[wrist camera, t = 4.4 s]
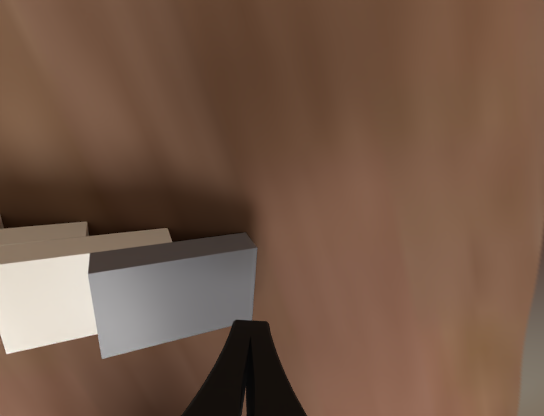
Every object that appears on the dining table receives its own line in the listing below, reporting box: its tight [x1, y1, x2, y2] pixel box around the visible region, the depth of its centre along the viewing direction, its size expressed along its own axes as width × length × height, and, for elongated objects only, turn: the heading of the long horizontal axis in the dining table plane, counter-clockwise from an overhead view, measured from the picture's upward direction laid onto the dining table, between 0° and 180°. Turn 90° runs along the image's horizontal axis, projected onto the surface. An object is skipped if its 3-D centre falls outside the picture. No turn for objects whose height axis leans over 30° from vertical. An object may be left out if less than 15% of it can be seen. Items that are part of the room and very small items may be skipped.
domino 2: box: [0, 228, 172, 354], centre depth 15 cm, size 2×4×7 cm
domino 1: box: [0, 222, 89, 246], centre depth 15 cm, size 2×4×7 cm
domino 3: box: [88, 232, 257, 359], centre depth 15 cm, size 2×4×7 cm
